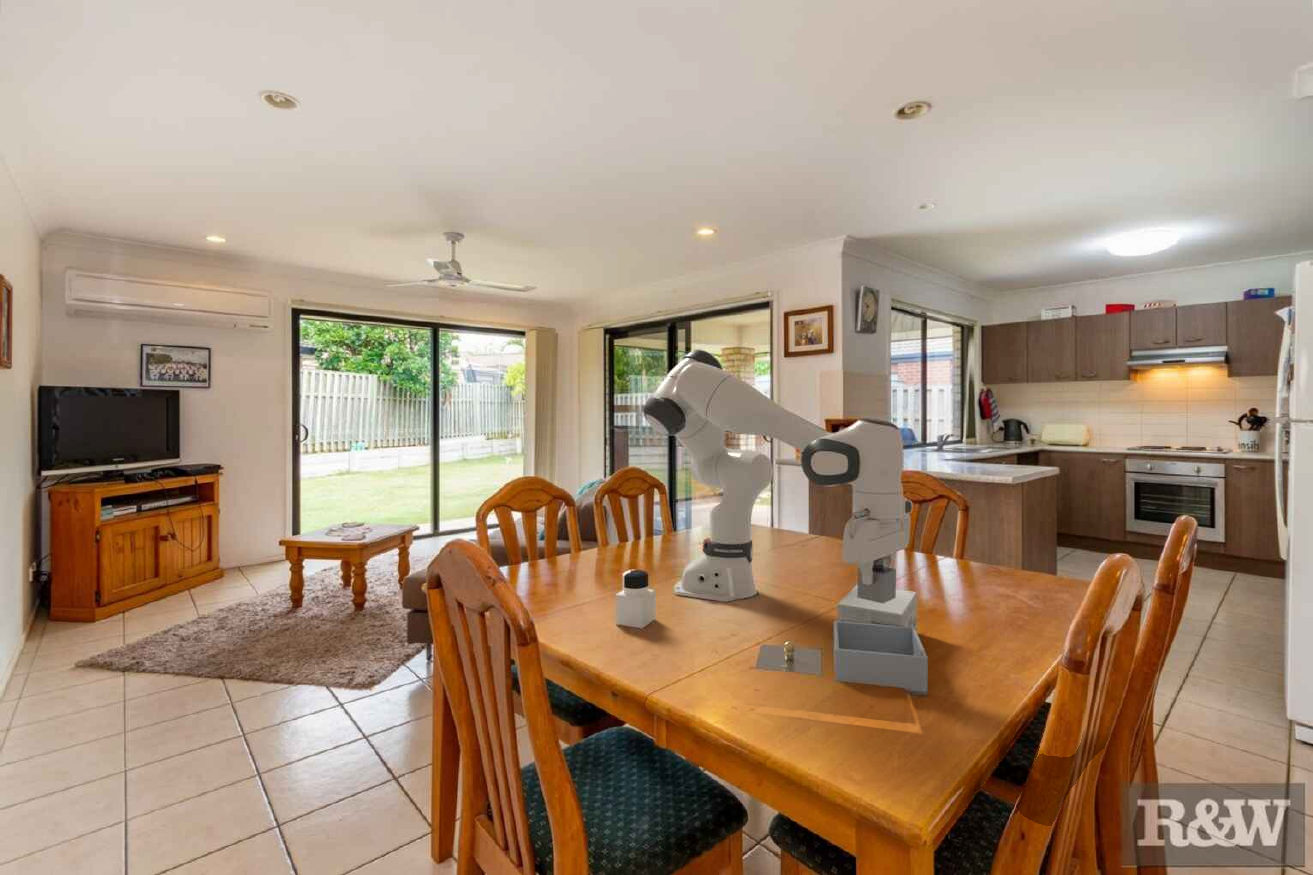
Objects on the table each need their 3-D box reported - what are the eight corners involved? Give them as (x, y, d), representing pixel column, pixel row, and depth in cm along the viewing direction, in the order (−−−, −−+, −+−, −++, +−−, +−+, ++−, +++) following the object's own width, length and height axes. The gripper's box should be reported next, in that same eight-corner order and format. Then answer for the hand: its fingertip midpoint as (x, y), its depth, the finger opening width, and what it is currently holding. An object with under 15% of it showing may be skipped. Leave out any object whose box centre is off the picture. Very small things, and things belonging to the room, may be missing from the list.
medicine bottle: (655, 619, 143) (655, 569, 143) (642, 629, 137) (642, 576, 136) (629, 615, 146) (628, 566, 146) (615, 624, 140) (614, 573, 139)
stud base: (755, 673, 113) (755, 650, 113) (761, 649, 125) (761, 628, 125) (821, 680, 110) (821, 656, 110) (821, 654, 122) (821, 633, 121)
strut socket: (883, 603, 109) (883, 559, 109) (857, 597, 113) (857, 555, 112) (895, 597, 112) (896, 555, 112) (870, 592, 116) (870, 550, 116)
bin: (835, 685, 108) (835, 649, 108) (833, 653, 122) (833, 620, 122) (927, 695, 104) (927, 658, 104) (914, 660, 118) (914, 627, 118)
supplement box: (856, 622, 141) (856, 583, 140) (917, 633, 134) (917, 591, 133) (835, 646, 126) (836, 602, 126) (902, 660, 119) (903, 613, 119)
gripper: (867, 515, 102) (866, 595, 103) (916, 502, 117) (915, 572, 117) (833, 511, 107) (832, 588, 107) (885, 498, 121) (884, 567, 122)
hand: (876, 580), depth 112 cm, fingers closed on strut socket, 5 cm apart
